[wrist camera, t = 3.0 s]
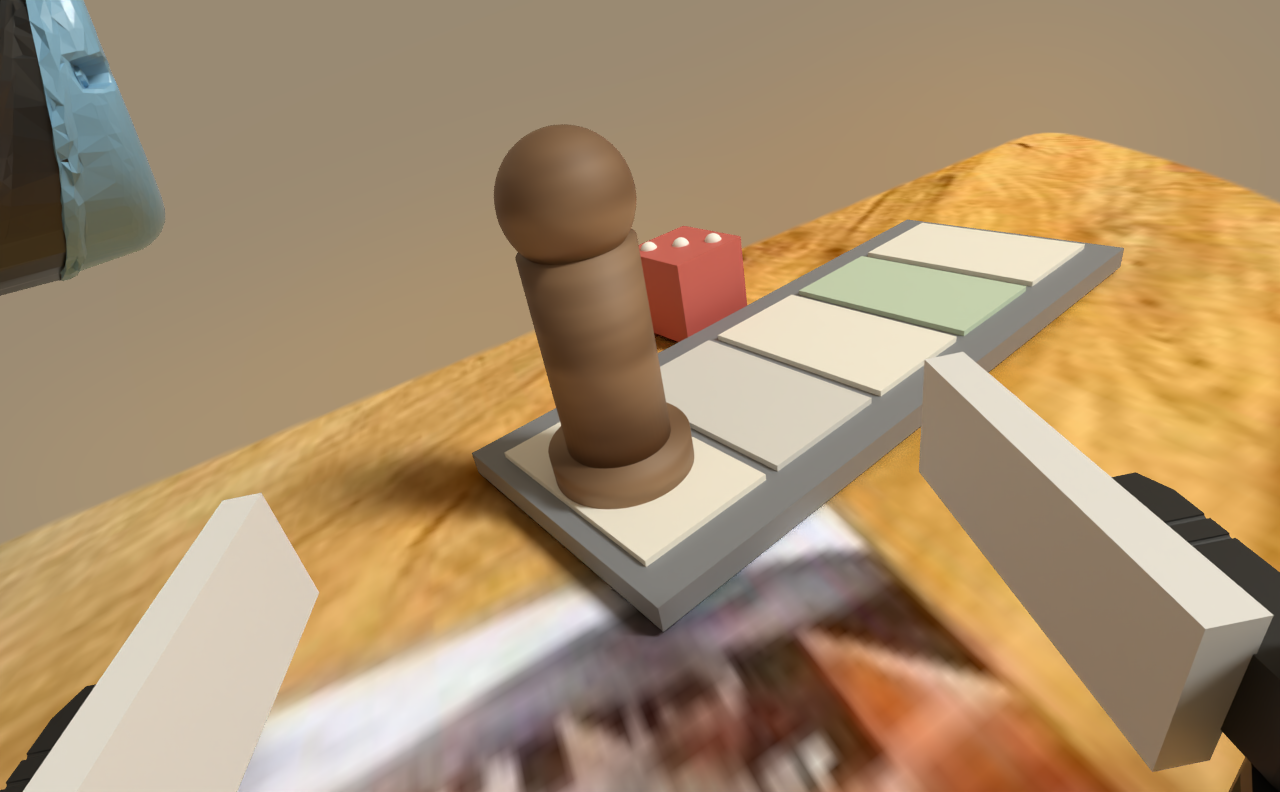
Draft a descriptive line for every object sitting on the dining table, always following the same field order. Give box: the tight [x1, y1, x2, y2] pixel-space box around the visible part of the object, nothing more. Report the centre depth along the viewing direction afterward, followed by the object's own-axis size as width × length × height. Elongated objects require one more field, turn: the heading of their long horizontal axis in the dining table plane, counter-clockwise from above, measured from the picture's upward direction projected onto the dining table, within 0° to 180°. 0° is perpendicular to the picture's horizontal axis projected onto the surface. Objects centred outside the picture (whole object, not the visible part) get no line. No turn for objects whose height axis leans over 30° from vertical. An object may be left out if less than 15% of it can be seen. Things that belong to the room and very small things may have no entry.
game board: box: [472, 220, 1124, 632], centre depth 31 cm, size 12×31×1 cm, turn 129°
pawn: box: [494, 125, 694, 509], centre depth 22 cm, size 5×5×12 cm
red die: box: [639, 226, 747, 342], centre depth 37 cm, size 4×4×5 cm
